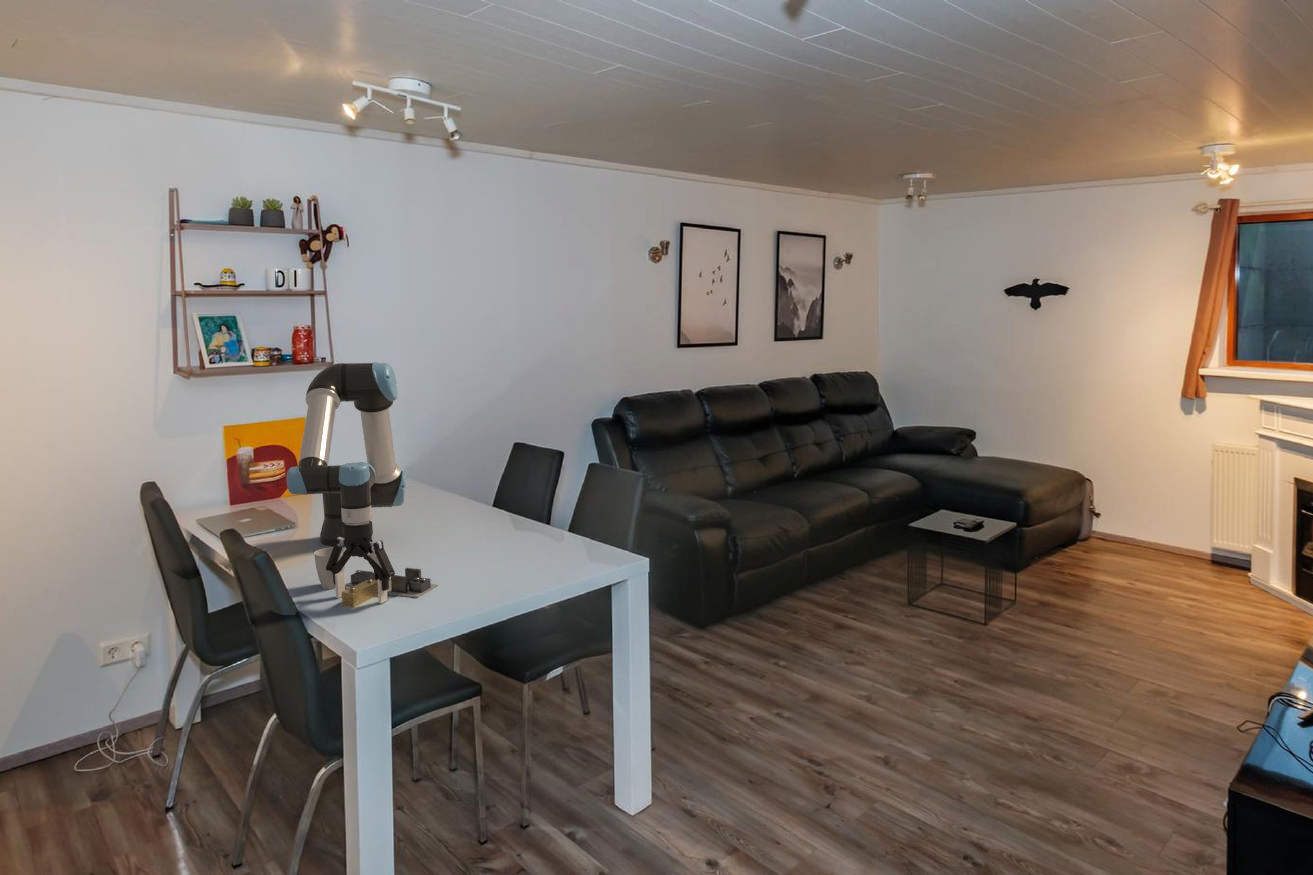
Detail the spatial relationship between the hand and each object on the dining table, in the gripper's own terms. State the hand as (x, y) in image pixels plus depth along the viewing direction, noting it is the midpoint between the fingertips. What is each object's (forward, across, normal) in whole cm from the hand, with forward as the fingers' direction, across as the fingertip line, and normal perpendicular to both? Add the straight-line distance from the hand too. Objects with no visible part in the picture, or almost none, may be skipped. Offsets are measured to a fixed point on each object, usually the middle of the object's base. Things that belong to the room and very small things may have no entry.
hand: (361, 598), depth 222 cm
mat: (0, +2, +11) cm, 11 cm away
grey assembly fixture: (0, +2, +11) cm, 11 cm away
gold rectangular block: (0, 0, 0) cm, 0 cm away
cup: (0, -15, +7) cm, 16 cm away
